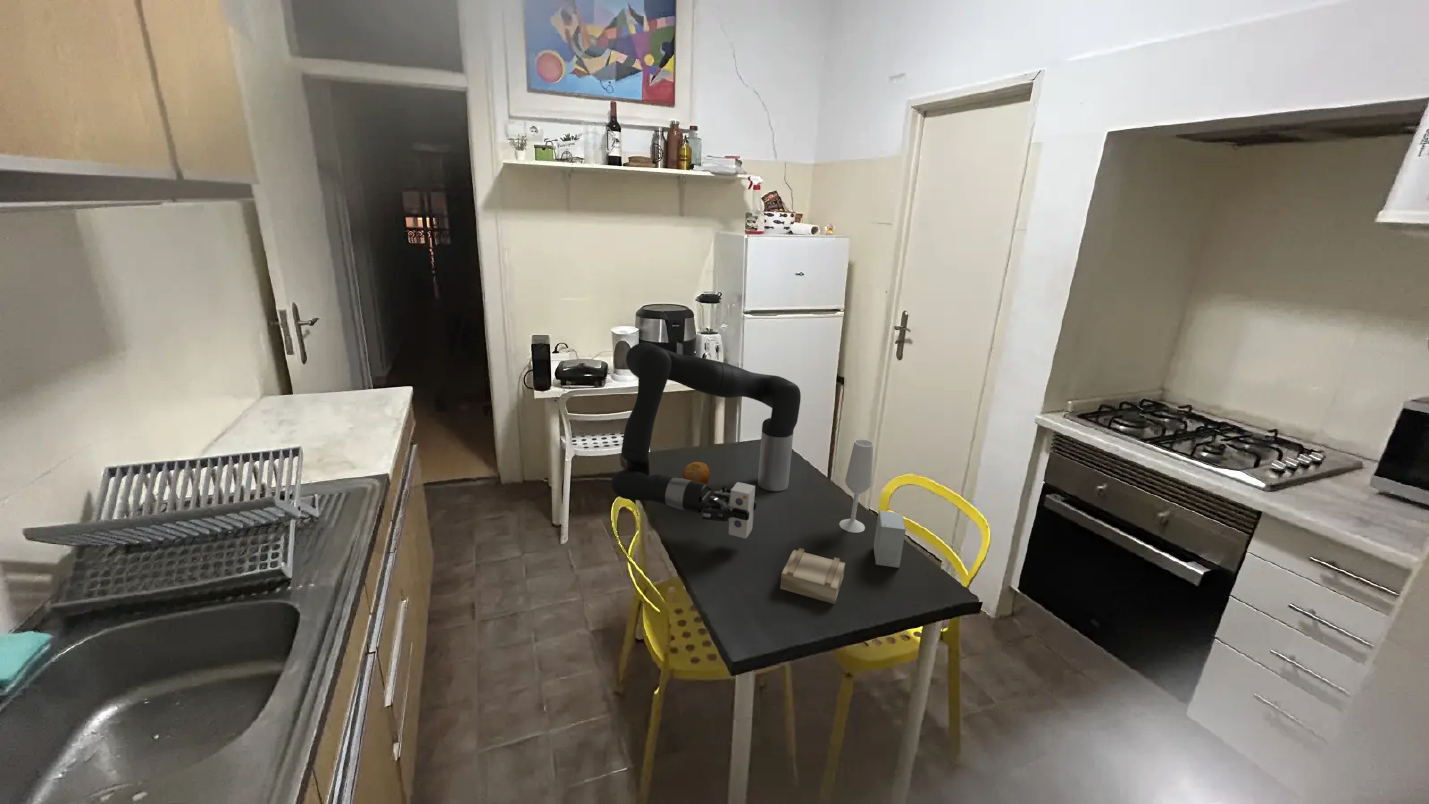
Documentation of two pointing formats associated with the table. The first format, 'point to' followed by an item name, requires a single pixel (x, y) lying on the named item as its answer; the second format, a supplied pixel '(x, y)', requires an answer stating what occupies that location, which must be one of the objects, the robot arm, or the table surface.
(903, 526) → the small box
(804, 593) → the brown wooden ridged block
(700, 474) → the fruit
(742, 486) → the tall grey box
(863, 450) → the champagne flute
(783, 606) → the table surface
